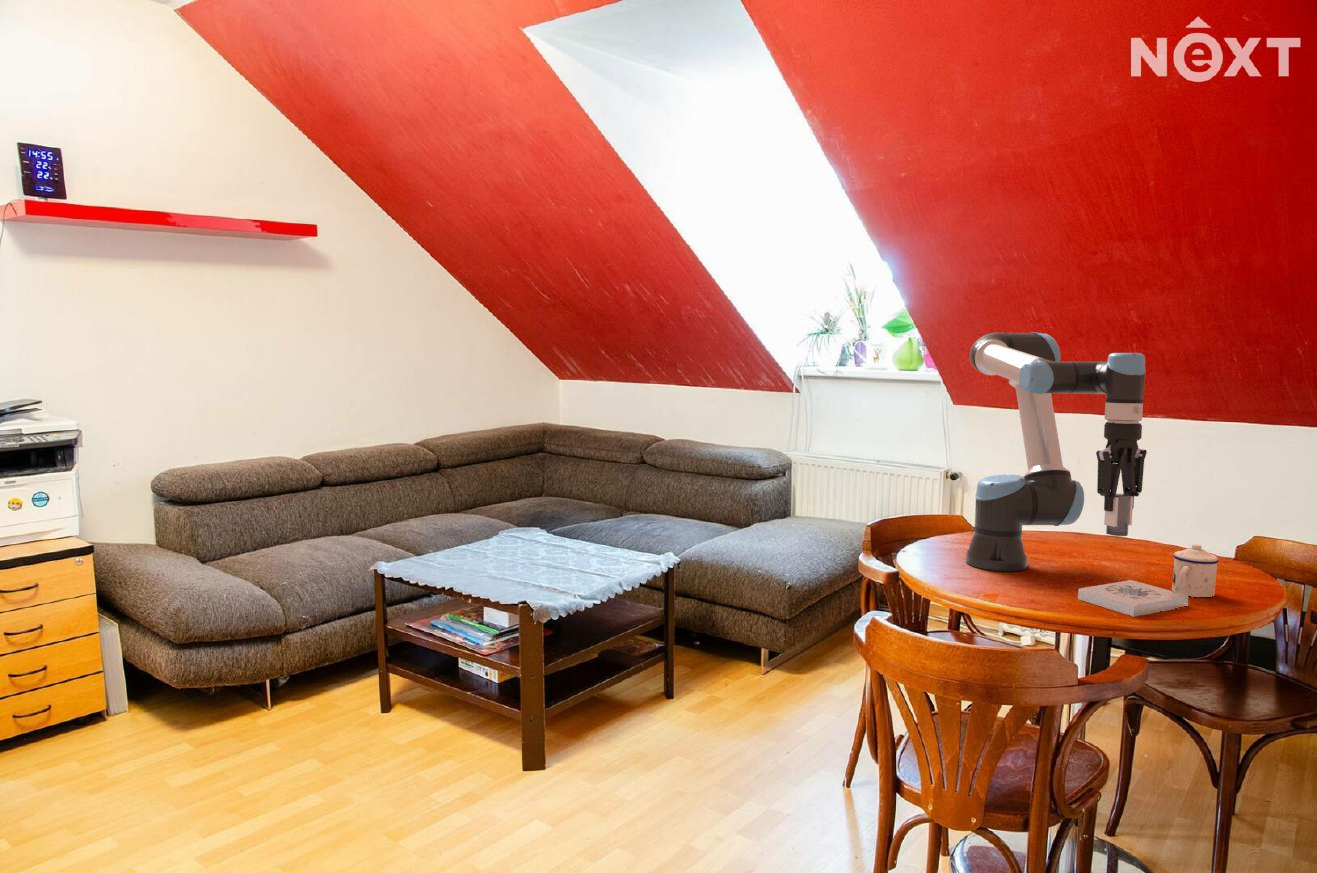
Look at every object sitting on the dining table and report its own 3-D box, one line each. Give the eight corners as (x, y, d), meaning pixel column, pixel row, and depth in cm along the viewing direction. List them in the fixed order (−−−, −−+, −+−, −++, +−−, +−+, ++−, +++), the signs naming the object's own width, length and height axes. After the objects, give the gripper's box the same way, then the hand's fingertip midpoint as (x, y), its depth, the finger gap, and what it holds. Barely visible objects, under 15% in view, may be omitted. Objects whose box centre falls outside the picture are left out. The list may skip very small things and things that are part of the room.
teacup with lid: (1179, 585, 217) (1183, 538, 216) (1221, 594, 210) (1225, 545, 209) (1159, 594, 210) (1163, 545, 208) (1202, 603, 203) (1206, 553, 201)
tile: (1077, 599, 205) (1078, 588, 205) (1130, 590, 213) (1131, 580, 213) (1133, 616, 193) (1134, 605, 192) (1187, 606, 200) (1188, 595, 200)
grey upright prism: (1101, 533, 204) (1103, 493, 204) (1115, 531, 206) (1117, 493, 205) (1118, 536, 200) (1120, 496, 200) (1132, 535, 202) (1134, 495, 201)
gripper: (1110, 423, 194) (1105, 530, 196) (1164, 422, 201) (1159, 525, 203) (1081, 421, 201) (1076, 524, 203) (1135, 420, 208) (1129, 519, 210)
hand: (1117, 524), depth 203 cm, fingers closed on grey upright prism, 4 cm apart
